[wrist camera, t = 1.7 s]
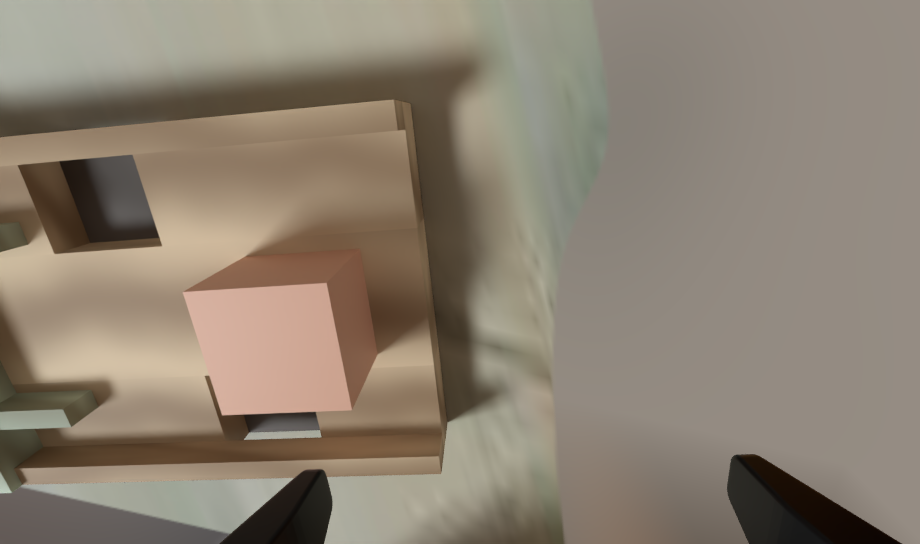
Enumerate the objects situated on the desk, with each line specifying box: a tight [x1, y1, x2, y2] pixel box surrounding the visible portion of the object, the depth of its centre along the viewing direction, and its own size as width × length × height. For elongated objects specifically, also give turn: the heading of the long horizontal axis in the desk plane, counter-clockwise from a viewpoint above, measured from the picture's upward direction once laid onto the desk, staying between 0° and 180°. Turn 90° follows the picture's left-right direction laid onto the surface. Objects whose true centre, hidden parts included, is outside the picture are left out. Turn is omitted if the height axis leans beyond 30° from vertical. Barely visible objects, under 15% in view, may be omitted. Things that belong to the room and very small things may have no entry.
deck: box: [0, 99, 447, 493], centre depth 19 cm, size 16×22×4 cm
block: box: [183, 249, 378, 415], centre depth 17 cm, size 5×5×4 cm
